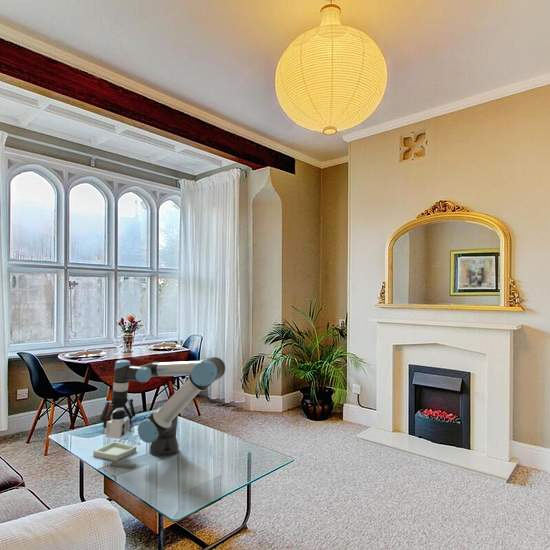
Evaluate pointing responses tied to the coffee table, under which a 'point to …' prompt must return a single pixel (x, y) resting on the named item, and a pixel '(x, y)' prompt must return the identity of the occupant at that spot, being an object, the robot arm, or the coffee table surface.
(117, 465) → the puller tool
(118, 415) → the container
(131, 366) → the robot arm
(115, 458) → the parts tray
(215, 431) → the coffee table surface
